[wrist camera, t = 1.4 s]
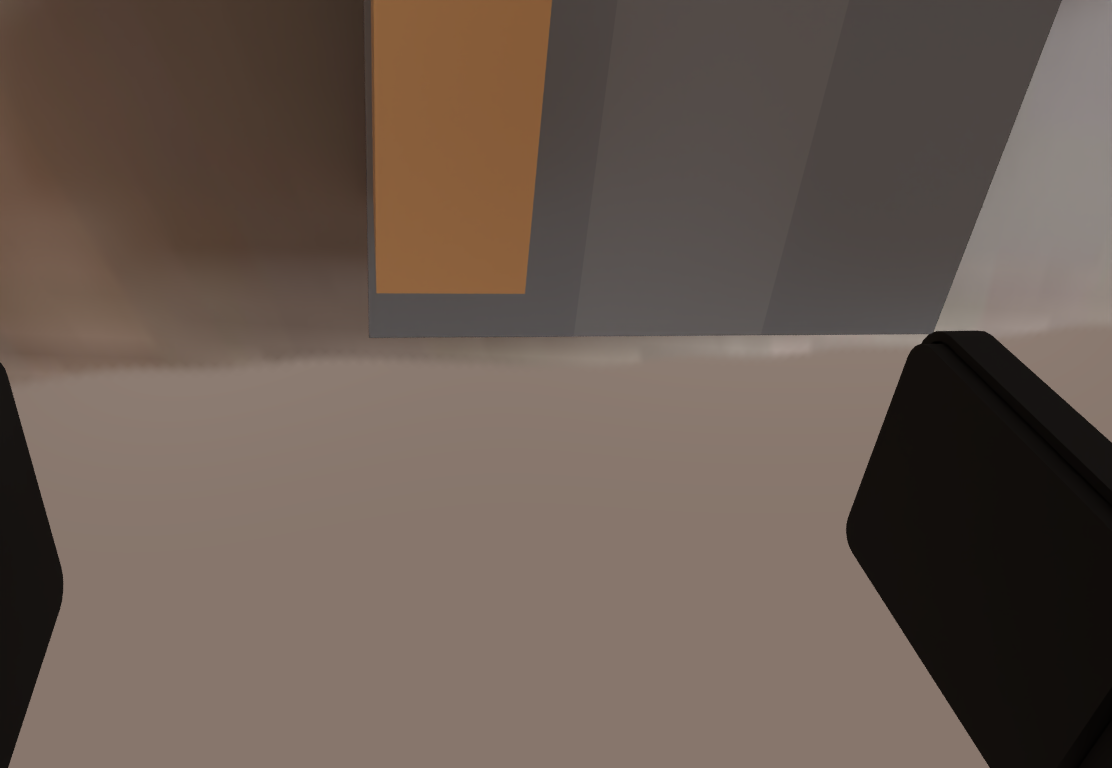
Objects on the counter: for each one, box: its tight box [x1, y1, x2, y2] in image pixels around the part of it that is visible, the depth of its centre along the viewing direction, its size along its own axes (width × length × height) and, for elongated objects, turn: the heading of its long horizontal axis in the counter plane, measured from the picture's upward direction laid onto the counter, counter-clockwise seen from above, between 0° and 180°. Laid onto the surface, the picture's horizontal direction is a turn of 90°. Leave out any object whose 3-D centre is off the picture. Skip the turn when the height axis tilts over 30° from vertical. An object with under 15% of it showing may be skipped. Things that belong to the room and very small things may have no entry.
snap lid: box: [364, 0, 1062, 338], centre depth 21 cm, size 16×14×6 cm
